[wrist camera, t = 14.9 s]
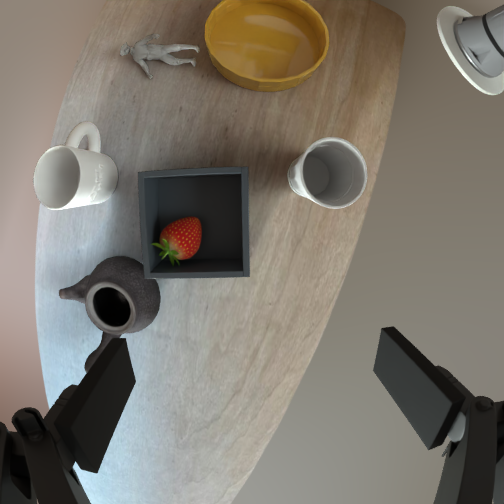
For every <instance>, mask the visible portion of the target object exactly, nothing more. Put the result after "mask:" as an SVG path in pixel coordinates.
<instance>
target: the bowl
mask: <svg viewBox="0 0 504 504" xmlns="http://www.w3.org/2000/svg"><path fill="white" fill-rule="evenodd" d="M205 42H206V48H207V51H208V54H209V57H210V59H211V62H212V64H213V65H214V67H215V68H216V69H217V70H218V72H219V73H221V74H222V75H223V76H224V77H225V78H226V79H228V80H229V81H231V82H233V83H234V84H236V85H239V86H241V87H243V88H247V89H250V90H255V91H263V92H275V91H282V90H286V89H290V88H293V87H295V86H297V85H299V84H301V83H303V82H304V81H305V80H307V79H309V78H310V76H311V75H312V74H313V73H314V72H315V70H316V69H317V68H318V67H319V65H320V64H321V63H322V61H323V60H324V59H325V57H326V54H327V51H328V47H329V44H330V42H329V34H328V28H327V26H326V24H325V22H324V21H323V19H322V17H321V15H320V14H319V13H318V12H317V11H316V10H315V9H314V8H313V7H312V6H311V5H310V4H309V3H307V2H305V1H304V0H223V1H222V2H220V3H219V4H218V5H217V6H216V7H215V8H214V9H213V10H212V11H211V13H210V15H209V17H208V19H207V21H206V24H205Z"/></svg>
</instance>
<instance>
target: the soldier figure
mask: <svg viewBox="0 0 504 504" xmlns="http://www.w3.org/2000/svg"><path fill="white" fill-rule="evenodd" d="M156 35H157V36H156ZM158 37H159V34H151V35H148V36H146V37H145V38H143V39H142V40H140V41H138V42H137V43H135V45H134V47H133V48H131V47H130V46H128V45H127V42H126V43H125V44H123V45H122V47H121V50H120V53H121V55H126V54H128V53H129V52H130V48H131V55H133V60H135V61H136V62H137V63H138V64H140V65H141V67H142V68H143V70H144V72H145V73H146V74H147V76H148V77H149V78H150V79H153V77H152V76H153V75H150V73H149V69H148V67H147V64H146V63H145V61H144V60H143V59H146V60H151V59H152V60H153V59H156V60H159V59H160V60H162V61H164V62H166V63H168V64H170V65H180V64H183V63H188V62H191V63H192V64H193V66H194V67H195V65H196V58H188V59H177V58H175V57H173V56H172V55H170V54H169V53H170V52H177V51H180V50H186V49H194V50H196V52H199V50H200V48H199V45H195V46H194V45H185V44H172V45H154V44H148V45H147V44H145V43H147V42H148V41H150V40H152V39H153V38H154V39H156V38H158ZM121 55H120V56H121ZM151 77H152V78H151Z"/></svg>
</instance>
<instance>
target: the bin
mask: <svg viewBox="0 0 504 504" xmlns="http://www.w3.org/2000/svg"><path fill="white" fill-rule="evenodd" d="M138 190H139V214H140V230H141V244H142V255H143V266H144V275H145V279H170V278H227V277H250V256H249V182H248V167H210V168H188V169H171V170H158V171H145V172H138ZM185 217H196V218H198V219H199V220H200V223H201V227H202V237H201V243H200V246H199V249H198V251H197V252H196V253H195V254H194V255H193V256H192V257H190V258H188V259H184V260H178V259H177V260H178V262H179V265H178V263H177V261H176V260H175V259H174V258H173V257H172V258H173V259H174V267H173V266H172V264H171V261H170V258H169V255H168V254H167V255H166V256H165V257H164V258H163V259H162V257H163V256H158V255H159V254H160V252H161V251H163V249H161V248H159V247H157V246H155V245H152V244H153V243H158V244H160V242H159V241H160V234H161V232H162V231H163V229H164V228H165V227H166V226H168V225H169V224H170V223H172V222H174V221H176V220H179V219H182V218H185ZM179 266H180V267H179Z"/></svg>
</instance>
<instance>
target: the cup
mask: <svg viewBox="0 0 504 504" xmlns="http://www.w3.org/2000/svg"><path fill="white" fill-rule="evenodd" d="M287 177H288V182H289V185H290V187H291V188H292V190H293V191H294V192H295V193H297V194H298V195H300V196H303V197H306V198H308V199H310V200H312V201H314V202H316V203H318V204H319V205H321V206H324V207H327V208H333V209H337V208H343V207H346V206H349V205H351V204H352V203H354V202H355V201H356V200H357V199H358V198H359V197H360V196H361V194H362V193H363V191H364V189H365V186H366V182H367V167H366V163H365V160H364V158H363V156H362V154H361V153H360V151H359V150H358V149H357V148H356V147H355V146H354V145H353V144H351V143H350V142H348V141H346V140H344V139H341V138H337V137H326V138H322V139H319V140H317V141H315V142H314V143H312V144H311V145H310V146H309V147H308V148H307V149H306V150H305V151H304V152H303V153H302V154H301V155H300V156H299V157H298V158H296V159H295V160H294V161H293V162H292V163H291V165H290V166H289V169H288V174H287Z"/></svg>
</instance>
